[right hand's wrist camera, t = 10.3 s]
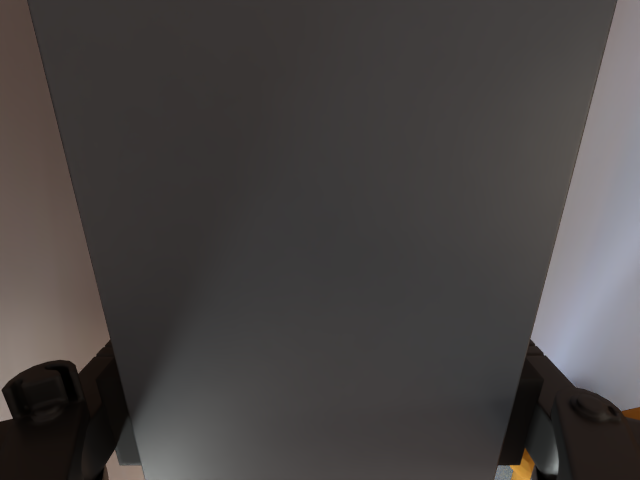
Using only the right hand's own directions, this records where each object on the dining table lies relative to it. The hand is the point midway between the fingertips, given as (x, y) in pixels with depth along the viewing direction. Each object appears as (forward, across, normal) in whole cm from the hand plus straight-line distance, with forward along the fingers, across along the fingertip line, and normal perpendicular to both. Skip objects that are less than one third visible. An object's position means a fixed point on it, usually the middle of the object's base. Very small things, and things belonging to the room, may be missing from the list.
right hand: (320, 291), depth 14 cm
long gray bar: (+1, 0, -20) cm, 20 cm away
